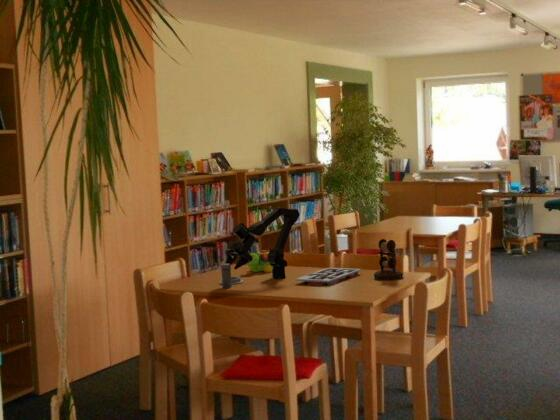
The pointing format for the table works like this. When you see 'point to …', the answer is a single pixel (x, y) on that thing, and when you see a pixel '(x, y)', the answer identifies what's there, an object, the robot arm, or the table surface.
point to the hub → (234, 280)
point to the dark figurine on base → (387, 260)
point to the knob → (226, 275)
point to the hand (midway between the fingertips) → (229, 268)
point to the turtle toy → (260, 262)
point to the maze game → (328, 276)
